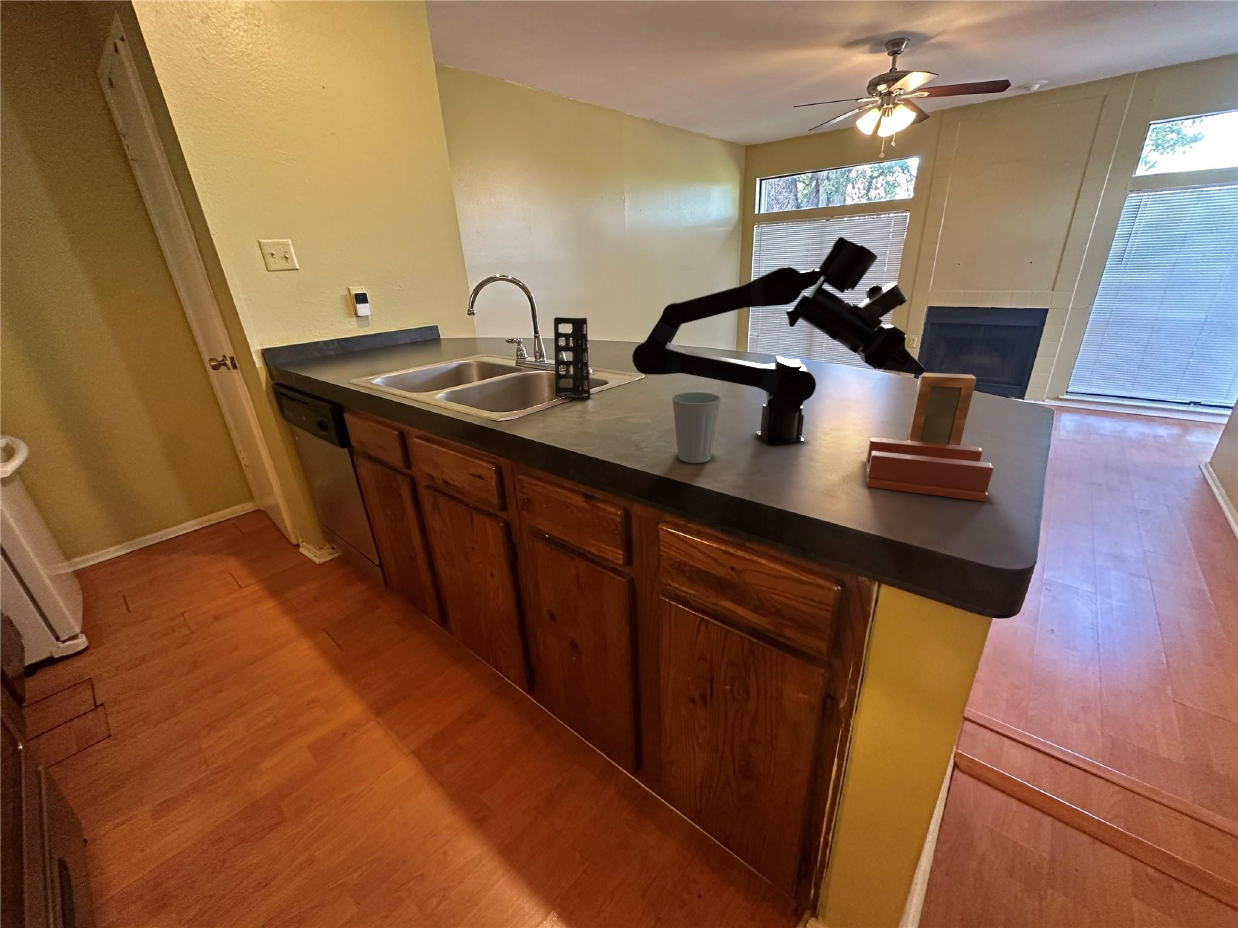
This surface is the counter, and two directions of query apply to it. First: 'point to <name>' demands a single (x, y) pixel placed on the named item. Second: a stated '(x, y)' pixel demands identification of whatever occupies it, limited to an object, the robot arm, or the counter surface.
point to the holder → (577, 362)
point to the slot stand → (928, 468)
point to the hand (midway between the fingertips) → (914, 367)
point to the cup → (695, 425)
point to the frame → (941, 408)
